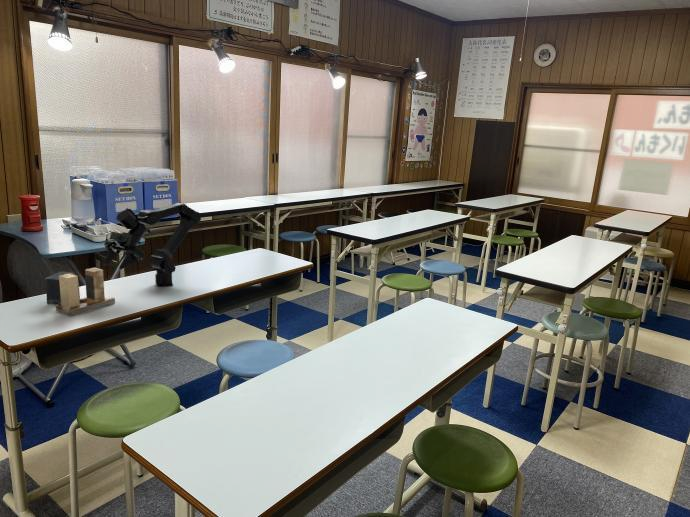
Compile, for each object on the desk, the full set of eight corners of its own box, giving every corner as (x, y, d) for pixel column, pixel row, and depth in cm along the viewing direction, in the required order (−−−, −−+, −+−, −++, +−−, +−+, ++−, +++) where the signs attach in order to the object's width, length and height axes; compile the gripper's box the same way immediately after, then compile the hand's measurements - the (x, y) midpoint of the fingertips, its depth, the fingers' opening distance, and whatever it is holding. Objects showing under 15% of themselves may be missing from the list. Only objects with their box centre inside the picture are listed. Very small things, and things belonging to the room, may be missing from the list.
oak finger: (96, 298, 201) (94, 267, 198) (104, 301, 199) (102, 269, 196) (86, 301, 197) (83, 269, 194) (94, 304, 195) (92, 272, 192)
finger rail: (100, 298, 205) (98, 265, 202) (115, 303, 201) (113, 269, 197) (56, 311, 189) (52, 275, 186) (71, 316, 185) (68, 279, 182)
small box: (62, 305, 196) (60, 279, 193) (46, 304, 196) (43, 278, 193) (77, 296, 206) (75, 272, 203) (61, 295, 206) (59, 271, 203)
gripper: (106, 220, 207) (83, 251, 200) (137, 227, 198) (114, 259, 192) (124, 236, 216) (102, 266, 209) (154, 243, 207) (133, 275, 200)
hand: (112, 266), depth 202 cm, fingers open, 9 cm apart
